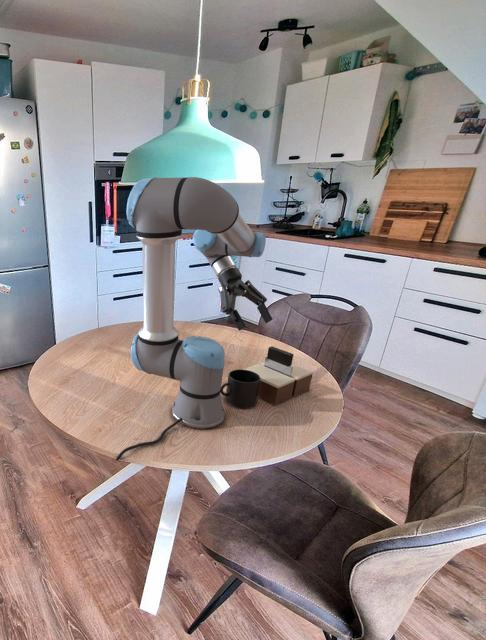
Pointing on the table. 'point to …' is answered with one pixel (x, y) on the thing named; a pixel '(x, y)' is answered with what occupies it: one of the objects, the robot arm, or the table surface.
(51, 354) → the table surface
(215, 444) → the table surface
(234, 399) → the mug
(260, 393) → the split beige slab
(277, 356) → the dough scraper
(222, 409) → the robot arm
